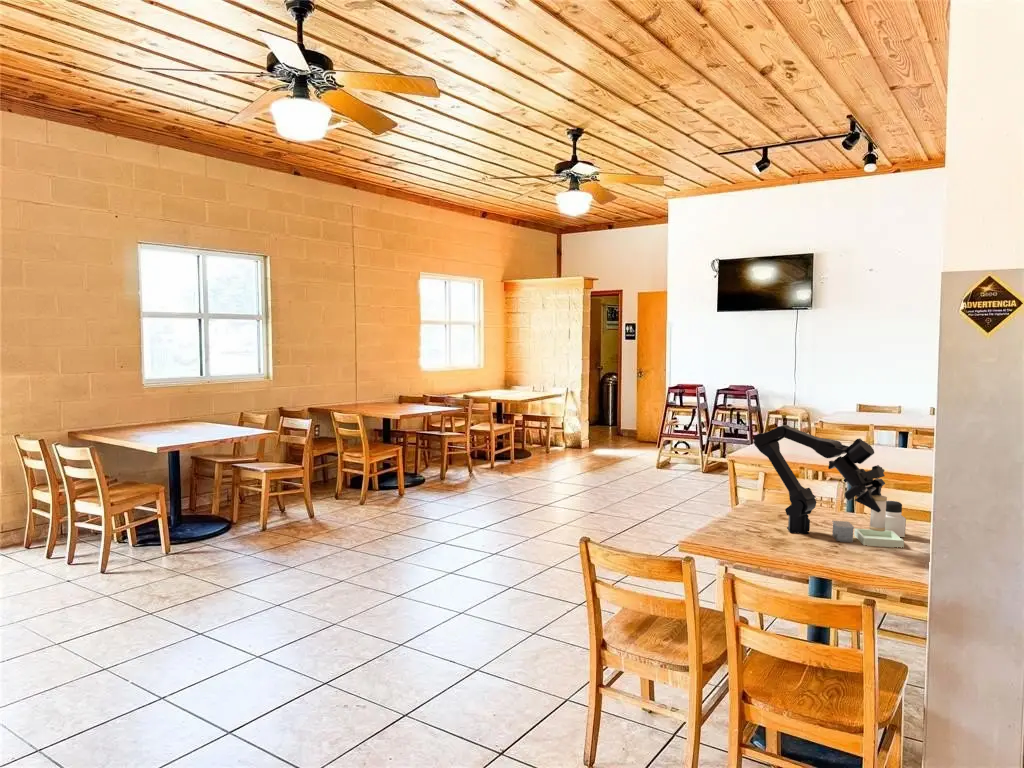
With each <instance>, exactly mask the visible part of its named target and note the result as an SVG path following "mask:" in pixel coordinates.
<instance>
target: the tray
mask: <svg viewBox="0 0 1024 768" xmlns="http://www.w3.org/2000/svg"><path fill="white" fill-rule="evenodd" d="M853 537H855V538H856V539H857V540H858V541H859V542H860V543H861V544H862V545H863V546H865V545H867V546H869V547H881V548H894V547H897V548H898V547H901V548H900V549H904V546H905V540H904V539H903V538H900V537H899V536H898V535H897V534H896V533H895V532H893V531H887V530H885V531H874V530H871V529H870V528H869V529H868V528H855V527H854V528H853ZM902 547H903V548H902ZM897 548H896V549H897ZM898 549H899V548H898Z"/></svg>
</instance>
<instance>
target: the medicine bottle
mask: <svg viewBox="0 0 1024 768" xmlns="http://www.w3.org/2000/svg"><path fill="white" fill-rule="evenodd" d="M886 507H887V509H886V517H885V530H887V531H893V532H895V533H896V534H897V535H898V536H899V537H905V538H906V525H907V523H906V521H907V519H906V517H904V515H902V514H903V513H902V512H903V504H902V502H900V501H897V500H887V501H886Z"/></svg>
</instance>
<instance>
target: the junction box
mask: <svg viewBox="0 0 1024 768" xmlns="http://www.w3.org/2000/svg"><path fill="white" fill-rule="evenodd" d="M854 529H855V527H854V525H853V524H851V522H850V521H843V520H842V521H841V520H832V535H831V536H832V537H833V539H836V540H835V541H836V542H837V541H840V543H851V544H852V543H853V541H854Z"/></svg>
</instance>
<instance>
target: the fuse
mask: <svg viewBox="0 0 1024 768" xmlns="http://www.w3.org/2000/svg"><path fill="white" fill-rule="evenodd" d="M881 495H882V494H881ZM881 495H872V497H873V499H874V500H875V502H876V503H877V505H878V506H879V508H880V510H881V511H880V512H876V511H874V510H873V509H871V508H870V518H869V519H870V521H869V529H871V530H874V531H885V517H886V501H888V499H887V498H888V497H887V496H885V495H882V496H881Z"/></svg>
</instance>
